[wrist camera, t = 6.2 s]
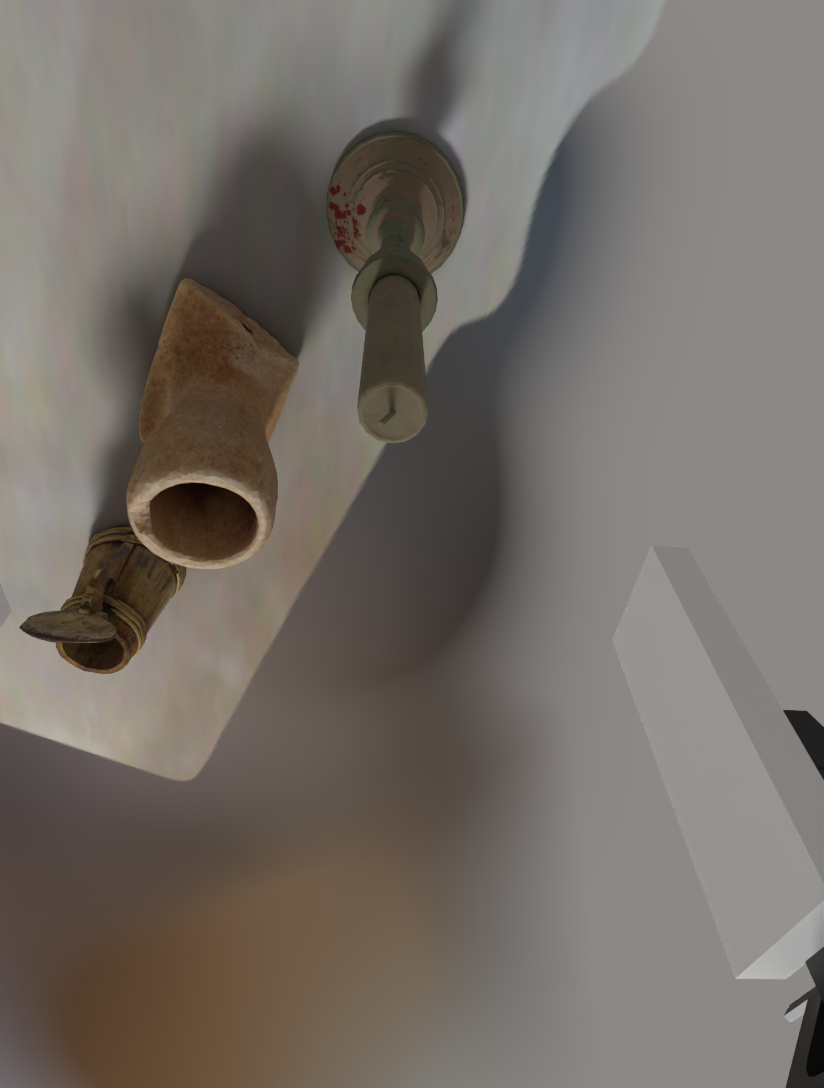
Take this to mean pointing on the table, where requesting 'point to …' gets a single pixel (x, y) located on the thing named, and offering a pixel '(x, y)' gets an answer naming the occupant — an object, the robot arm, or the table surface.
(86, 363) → the table surface
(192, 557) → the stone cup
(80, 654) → the wooden mug
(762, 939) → the robot arm
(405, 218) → the candlestick holder
